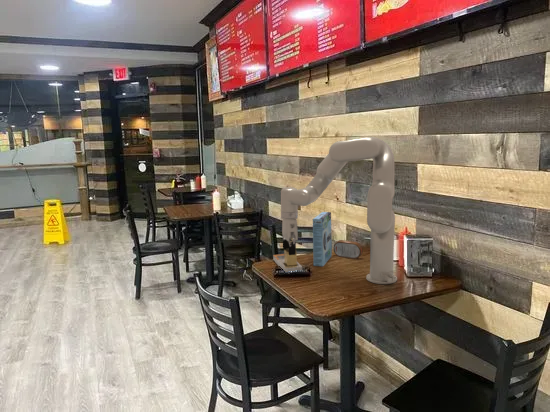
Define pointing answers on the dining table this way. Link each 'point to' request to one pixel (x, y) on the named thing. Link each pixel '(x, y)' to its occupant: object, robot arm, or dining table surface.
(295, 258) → the nut block
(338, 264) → the dining table surface
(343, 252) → the tin
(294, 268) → the grey flat box
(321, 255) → the gum box
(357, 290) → the dining table surface
